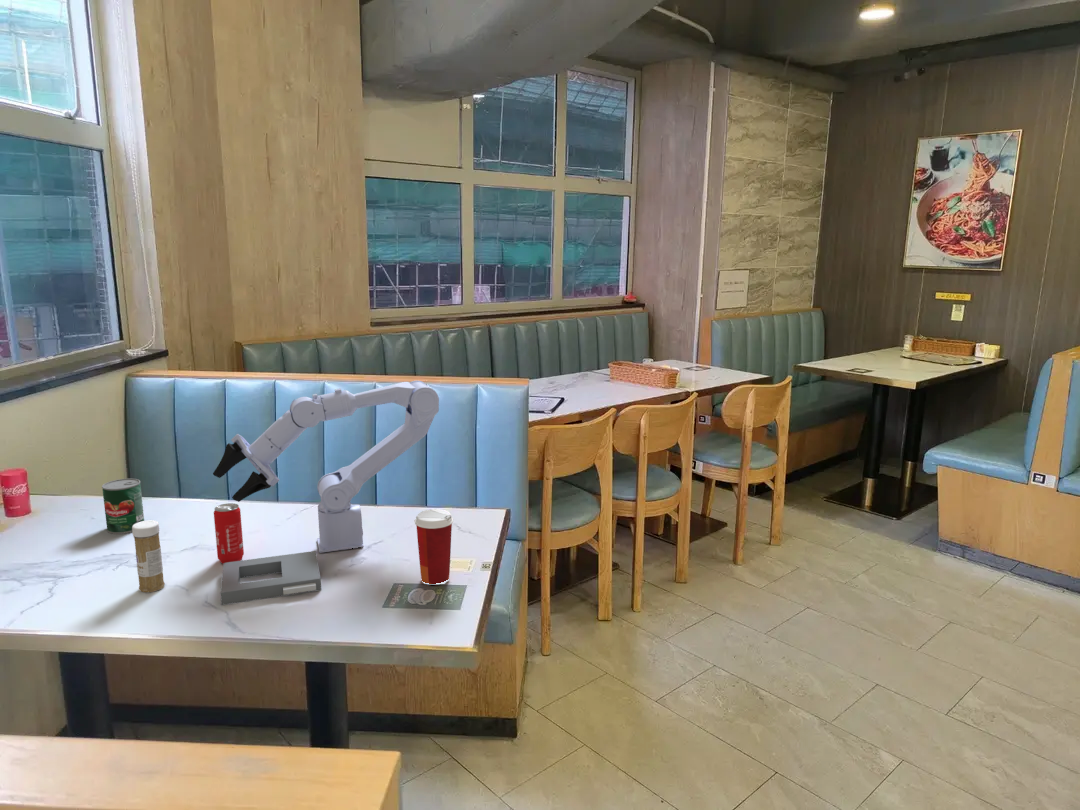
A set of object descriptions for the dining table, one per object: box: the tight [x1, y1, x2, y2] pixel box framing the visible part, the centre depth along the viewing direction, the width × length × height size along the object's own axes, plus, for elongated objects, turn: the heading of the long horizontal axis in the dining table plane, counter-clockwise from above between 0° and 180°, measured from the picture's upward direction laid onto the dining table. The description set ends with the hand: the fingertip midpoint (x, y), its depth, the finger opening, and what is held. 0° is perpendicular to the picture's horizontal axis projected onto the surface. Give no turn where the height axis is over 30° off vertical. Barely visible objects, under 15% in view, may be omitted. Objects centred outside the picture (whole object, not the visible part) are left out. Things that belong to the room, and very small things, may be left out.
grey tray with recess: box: [219, 550, 322, 606], centre depth 144 cm, size 18×15×2 cm
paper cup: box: [414, 508, 454, 584], centre depth 145 cm, size 8×8×14 cm
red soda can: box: [213, 502, 245, 565], centre depth 154 cm, size 5×5×12 cm
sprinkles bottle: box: [131, 519, 166, 593], centre depth 140 cm, size 5×5×13 cm
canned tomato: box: [101, 478, 145, 535], centre depth 171 cm, size 8×8×11 cm
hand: (225, 487), depth 152 cm, fingers open, 7 cm apart
